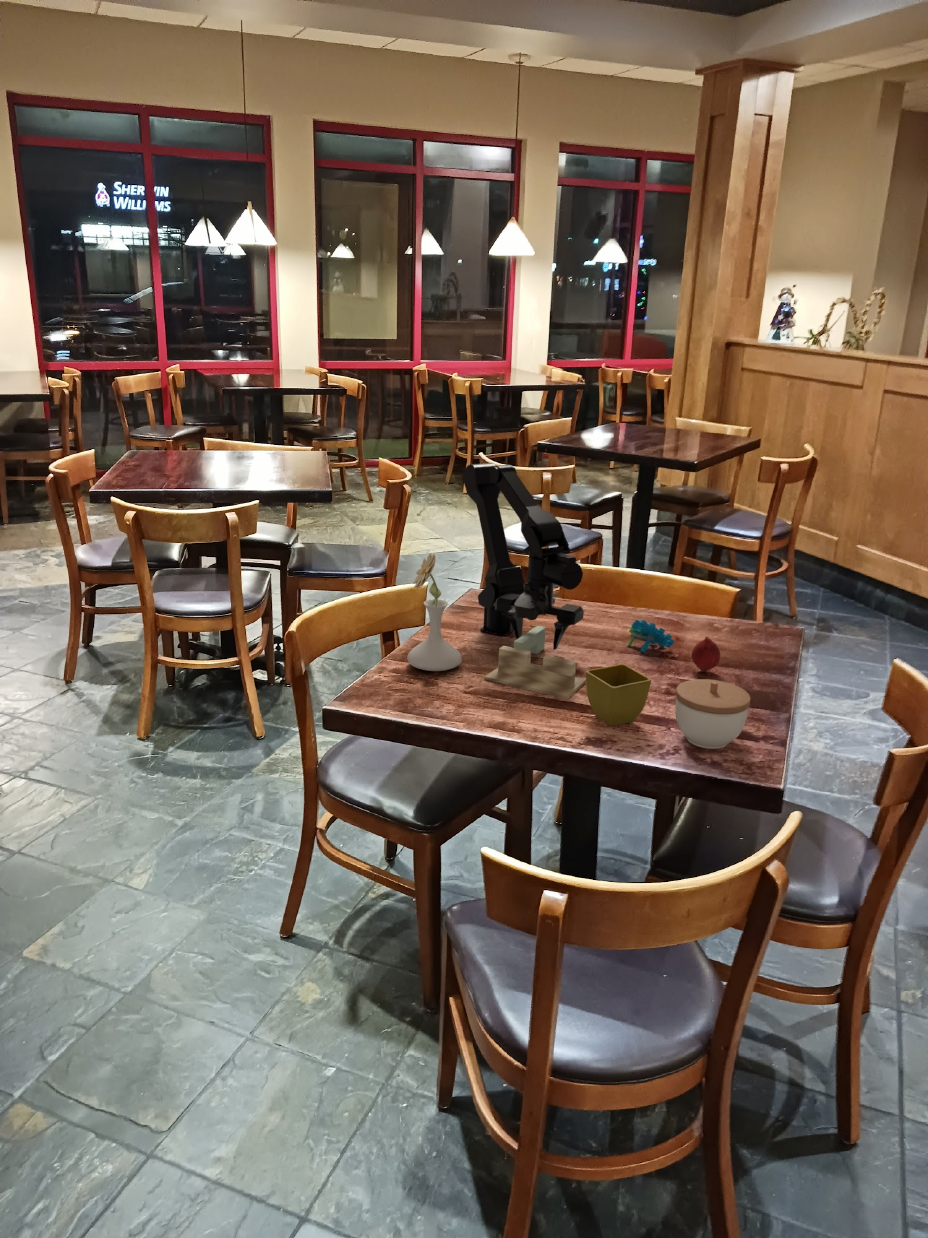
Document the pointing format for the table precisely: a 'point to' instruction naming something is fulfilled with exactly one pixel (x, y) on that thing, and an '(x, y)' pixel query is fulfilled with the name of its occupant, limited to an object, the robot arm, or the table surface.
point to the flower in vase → (433, 629)
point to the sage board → (532, 640)
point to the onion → (706, 654)
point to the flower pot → (617, 693)
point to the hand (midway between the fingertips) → (536, 645)
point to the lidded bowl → (711, 712)
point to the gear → (649, 635)
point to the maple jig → (536, 673)
